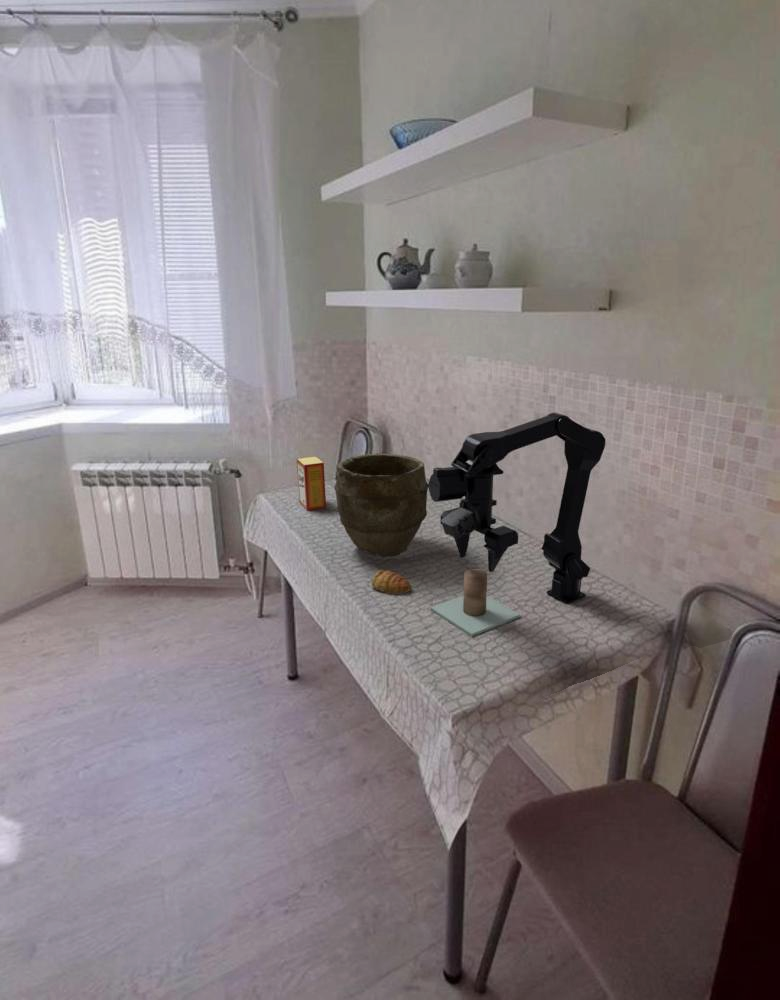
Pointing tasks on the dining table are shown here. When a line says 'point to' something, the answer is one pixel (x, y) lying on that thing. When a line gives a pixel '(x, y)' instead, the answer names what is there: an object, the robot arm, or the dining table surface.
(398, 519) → the clay pot
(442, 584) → the dining table surface
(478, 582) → the brown rounded cylinder
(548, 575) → the dining table surface
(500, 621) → the card
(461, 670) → the dining table surface
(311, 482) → the baking soda box
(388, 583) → the pastry
